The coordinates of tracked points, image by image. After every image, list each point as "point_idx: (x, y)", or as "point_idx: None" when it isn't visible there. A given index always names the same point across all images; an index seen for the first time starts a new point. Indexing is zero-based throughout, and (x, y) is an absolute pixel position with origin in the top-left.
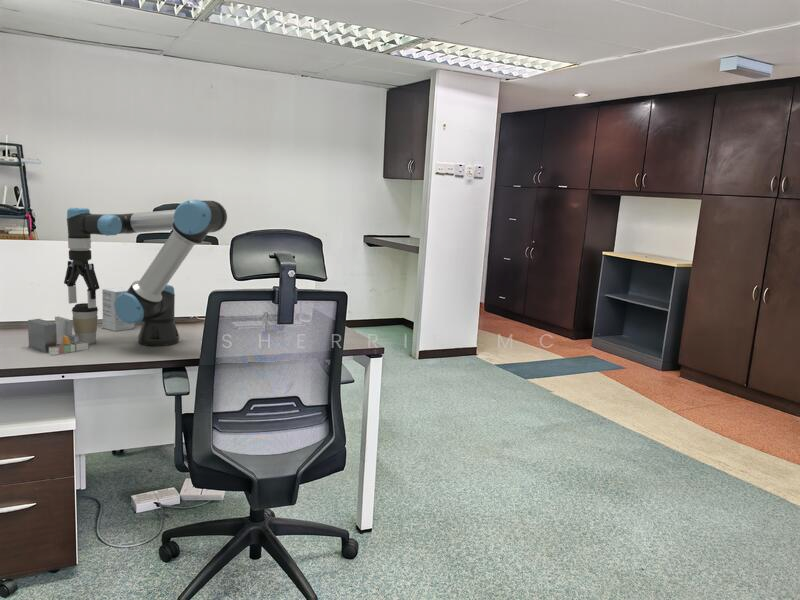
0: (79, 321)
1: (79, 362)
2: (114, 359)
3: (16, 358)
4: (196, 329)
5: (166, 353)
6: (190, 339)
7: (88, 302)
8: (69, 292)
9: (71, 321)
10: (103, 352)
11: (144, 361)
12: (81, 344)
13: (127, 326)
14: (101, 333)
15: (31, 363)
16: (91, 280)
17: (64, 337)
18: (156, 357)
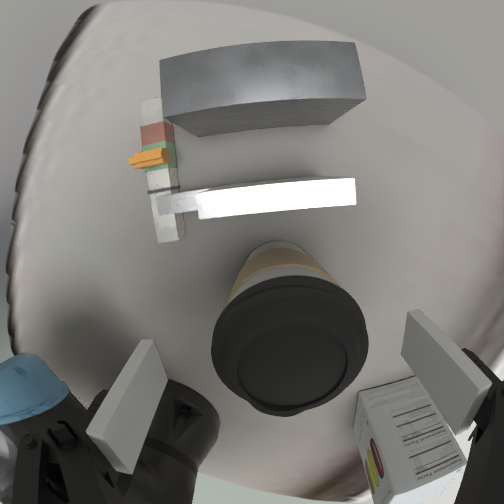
0: (245, 274)
1: (45, 160)
2: (37, 247)
3: (181, 19)
4: (248, 487)
5: (56, 360)
6: None
7: (130, 363)
8: (451, 359)
9: (200, 217)
10: (105, 257)
11: (13, 290)
12: (154, 215)
13: (357, 422)
14: None
15: (103, 48)
16: (17, 499)
17: (152, 153)
18: (32, 327)
